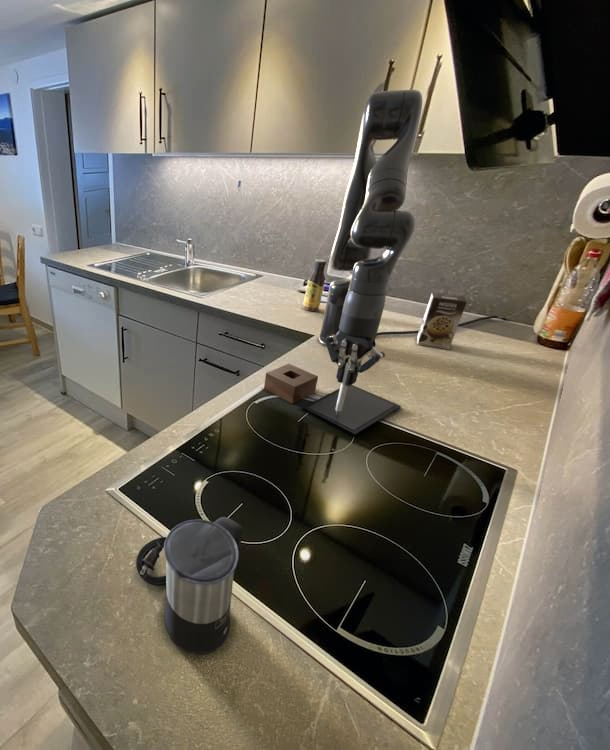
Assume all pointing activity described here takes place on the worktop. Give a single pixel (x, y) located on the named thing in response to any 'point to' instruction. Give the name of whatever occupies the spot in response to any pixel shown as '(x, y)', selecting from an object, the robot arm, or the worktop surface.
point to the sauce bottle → (315, 286)
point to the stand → (290, 383)
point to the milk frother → (196, 580)
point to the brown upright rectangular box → (441, 320)
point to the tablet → (352, 410)
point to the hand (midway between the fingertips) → (344, 382)
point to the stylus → (342, 390)
